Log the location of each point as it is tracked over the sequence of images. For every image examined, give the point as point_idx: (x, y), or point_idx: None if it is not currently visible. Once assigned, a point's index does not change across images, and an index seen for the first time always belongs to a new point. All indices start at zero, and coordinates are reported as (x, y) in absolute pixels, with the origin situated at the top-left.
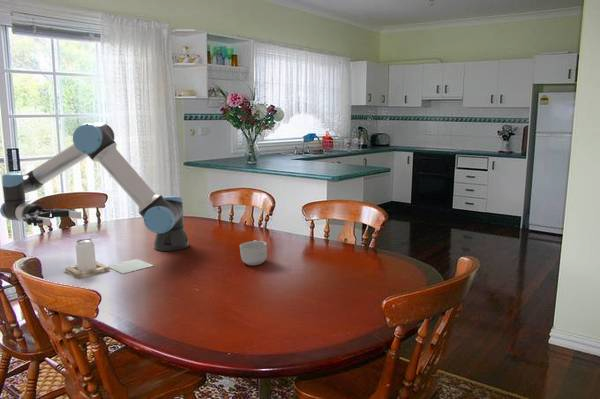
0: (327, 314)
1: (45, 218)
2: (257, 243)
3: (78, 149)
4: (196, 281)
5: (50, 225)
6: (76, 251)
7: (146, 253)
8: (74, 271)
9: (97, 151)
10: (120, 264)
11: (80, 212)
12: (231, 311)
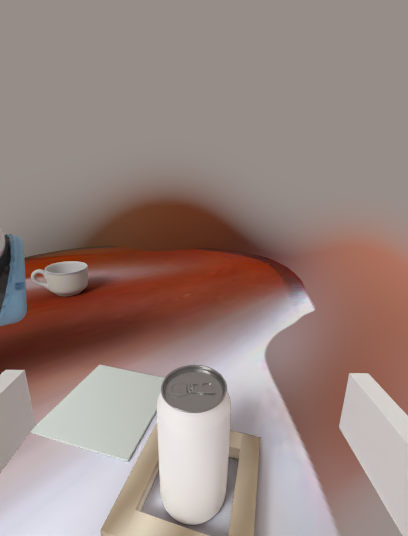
0: (190, 256)
1: (396, 406)
2: (47, 270)
3: None
4: (161, 302)
5: (340, 427)
6: (228, 430)
7: None
8: (250, 476)
9: None
10: (101, 432)
11: (15, 372)
12: (217, 273)
